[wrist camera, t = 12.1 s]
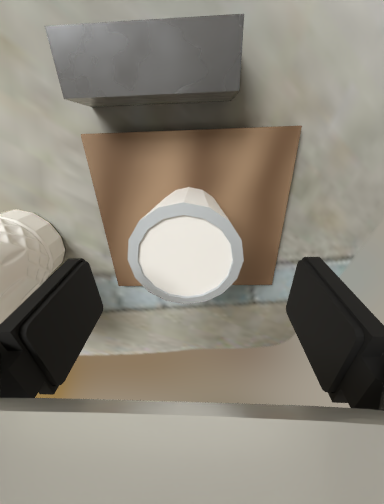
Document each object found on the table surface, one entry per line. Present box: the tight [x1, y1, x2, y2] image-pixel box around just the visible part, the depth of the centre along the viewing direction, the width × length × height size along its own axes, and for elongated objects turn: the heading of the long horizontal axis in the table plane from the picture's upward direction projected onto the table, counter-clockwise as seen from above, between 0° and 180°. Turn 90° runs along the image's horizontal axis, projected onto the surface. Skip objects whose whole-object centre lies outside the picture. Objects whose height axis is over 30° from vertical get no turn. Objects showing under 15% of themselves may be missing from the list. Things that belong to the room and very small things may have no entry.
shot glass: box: [128, 187, 244, 304], centre depth 15 cm, size 7×7×7 cm
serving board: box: [81, 126, 302, 286], centre depth 19 cm, size 16×14×1 cm
